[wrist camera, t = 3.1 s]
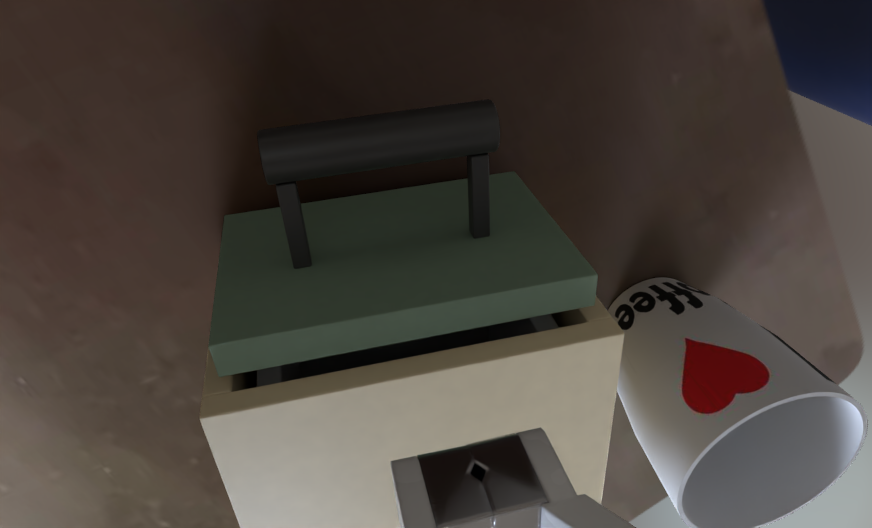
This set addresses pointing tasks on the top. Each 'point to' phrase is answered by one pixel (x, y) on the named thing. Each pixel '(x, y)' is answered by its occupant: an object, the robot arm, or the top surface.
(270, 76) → the top surface
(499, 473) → the robot arm
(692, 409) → the cup
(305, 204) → the green drawer
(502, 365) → the drawer box
